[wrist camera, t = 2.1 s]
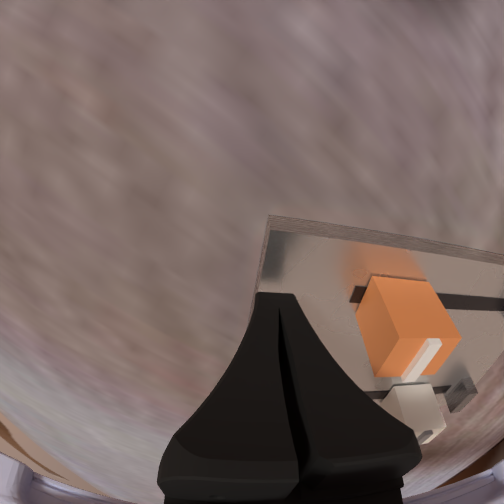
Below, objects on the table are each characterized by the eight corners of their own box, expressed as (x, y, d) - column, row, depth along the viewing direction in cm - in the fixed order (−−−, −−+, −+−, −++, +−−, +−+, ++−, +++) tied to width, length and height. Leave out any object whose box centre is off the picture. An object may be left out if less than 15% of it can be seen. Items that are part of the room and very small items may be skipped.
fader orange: (428, 282, 13) (465, 343, 10) (409, 318, 14) (436, 379, 11) (372, 275, 13) (402, 344, 9) (354, 314, 14) (376, 383, 11)
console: (542, 263, 14) (565, 289, 12) (453, 392, 21) (463, 417, 19) (268, 215, 13) (272, 252, 10) (233, 396, 20) (232, 432, 17)
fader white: (430, 383, 17) (447, 430, 14) (415, 401, 19) (429, 446, 15) (394, 386, 17) (409, 437, 14) (379, 404, 18) (391, 453, 15)
